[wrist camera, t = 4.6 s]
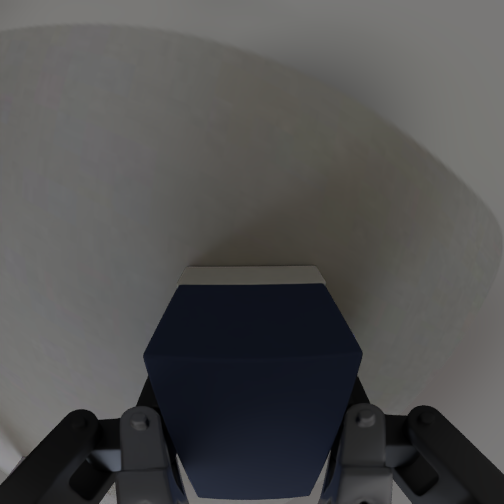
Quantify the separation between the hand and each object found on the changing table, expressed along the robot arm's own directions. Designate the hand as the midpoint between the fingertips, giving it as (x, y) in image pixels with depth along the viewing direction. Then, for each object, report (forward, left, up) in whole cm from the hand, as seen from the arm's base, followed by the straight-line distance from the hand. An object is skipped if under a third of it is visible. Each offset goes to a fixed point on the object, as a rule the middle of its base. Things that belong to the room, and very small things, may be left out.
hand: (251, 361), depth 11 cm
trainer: (+2, +1, 0) cm, 2 cm away
